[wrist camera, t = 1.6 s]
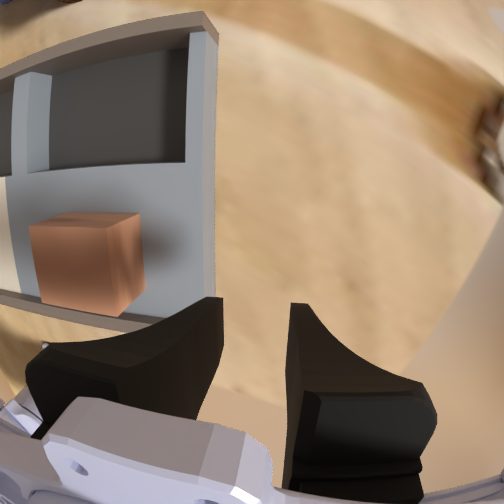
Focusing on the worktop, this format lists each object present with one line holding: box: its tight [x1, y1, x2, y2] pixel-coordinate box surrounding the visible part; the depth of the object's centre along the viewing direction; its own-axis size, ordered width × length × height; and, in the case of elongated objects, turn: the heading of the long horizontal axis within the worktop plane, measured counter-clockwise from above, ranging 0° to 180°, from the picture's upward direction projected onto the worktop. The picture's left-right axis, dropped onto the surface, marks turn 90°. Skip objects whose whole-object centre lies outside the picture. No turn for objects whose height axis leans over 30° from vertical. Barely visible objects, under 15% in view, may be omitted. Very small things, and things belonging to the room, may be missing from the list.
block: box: [29, 213, 146, 317], centre depth 18 cm, size 5×6×4 cm
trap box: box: [0, 11, 219, 333], centre depth 20 cm, size 20×30×4 cm, turn 89°
